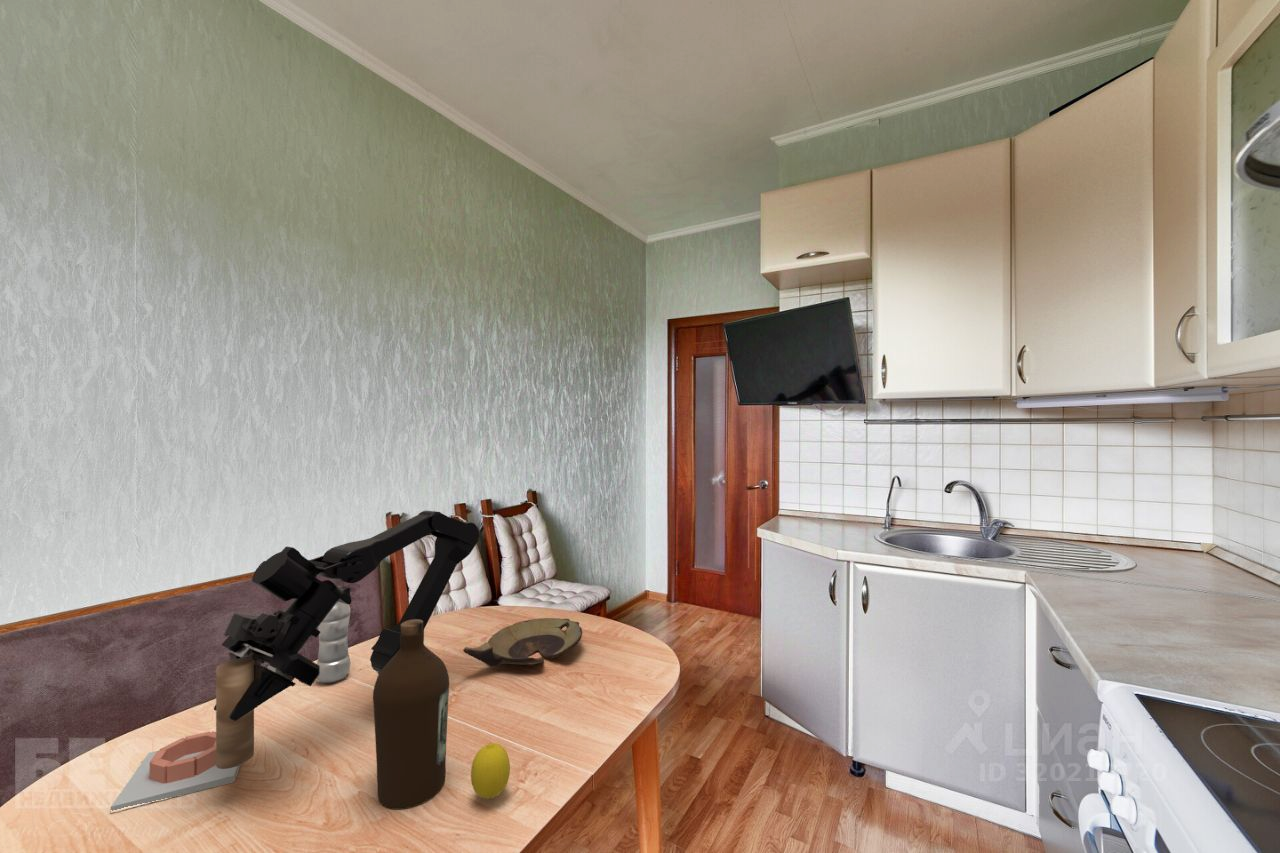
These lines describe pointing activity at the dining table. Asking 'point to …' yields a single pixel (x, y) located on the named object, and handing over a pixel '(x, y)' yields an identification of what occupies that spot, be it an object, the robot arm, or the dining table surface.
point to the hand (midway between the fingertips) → (224, 715)
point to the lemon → (490, 770)
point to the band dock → (176, 771)
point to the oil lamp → (528, 642)
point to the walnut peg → (231, 734)
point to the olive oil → (411, 722)
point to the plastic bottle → (334, 644)
